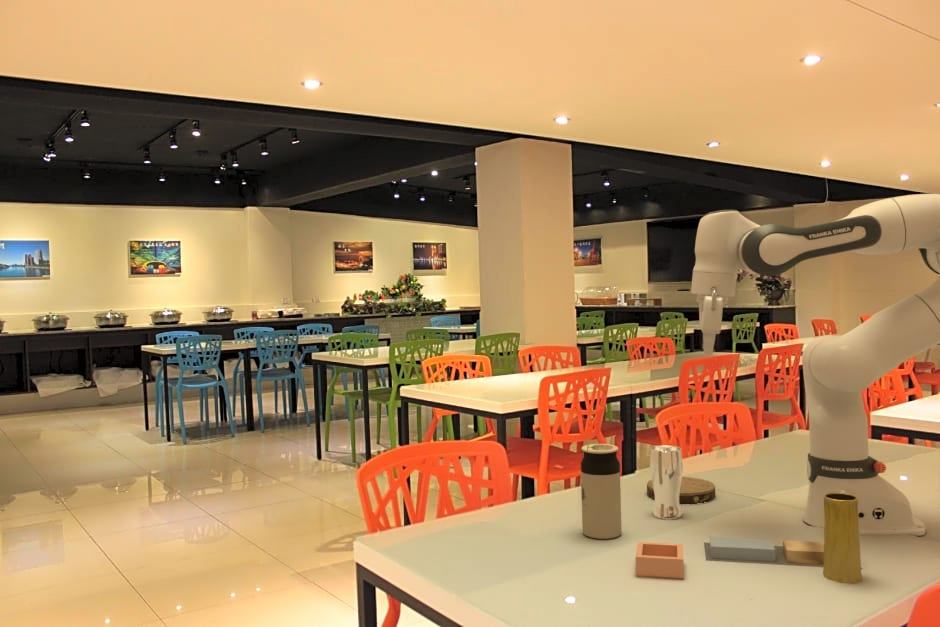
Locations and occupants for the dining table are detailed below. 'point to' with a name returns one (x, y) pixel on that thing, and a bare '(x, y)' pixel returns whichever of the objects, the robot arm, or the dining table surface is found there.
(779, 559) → the mat
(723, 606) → the dining table surface
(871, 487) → the robot arm
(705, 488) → the wood slice coaster
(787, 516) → the dining table surface
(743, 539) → the slate board
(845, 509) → the vase
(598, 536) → the travel mug
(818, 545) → the oak board
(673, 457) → the beer glass
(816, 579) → the dining table surface
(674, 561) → the orange frame
